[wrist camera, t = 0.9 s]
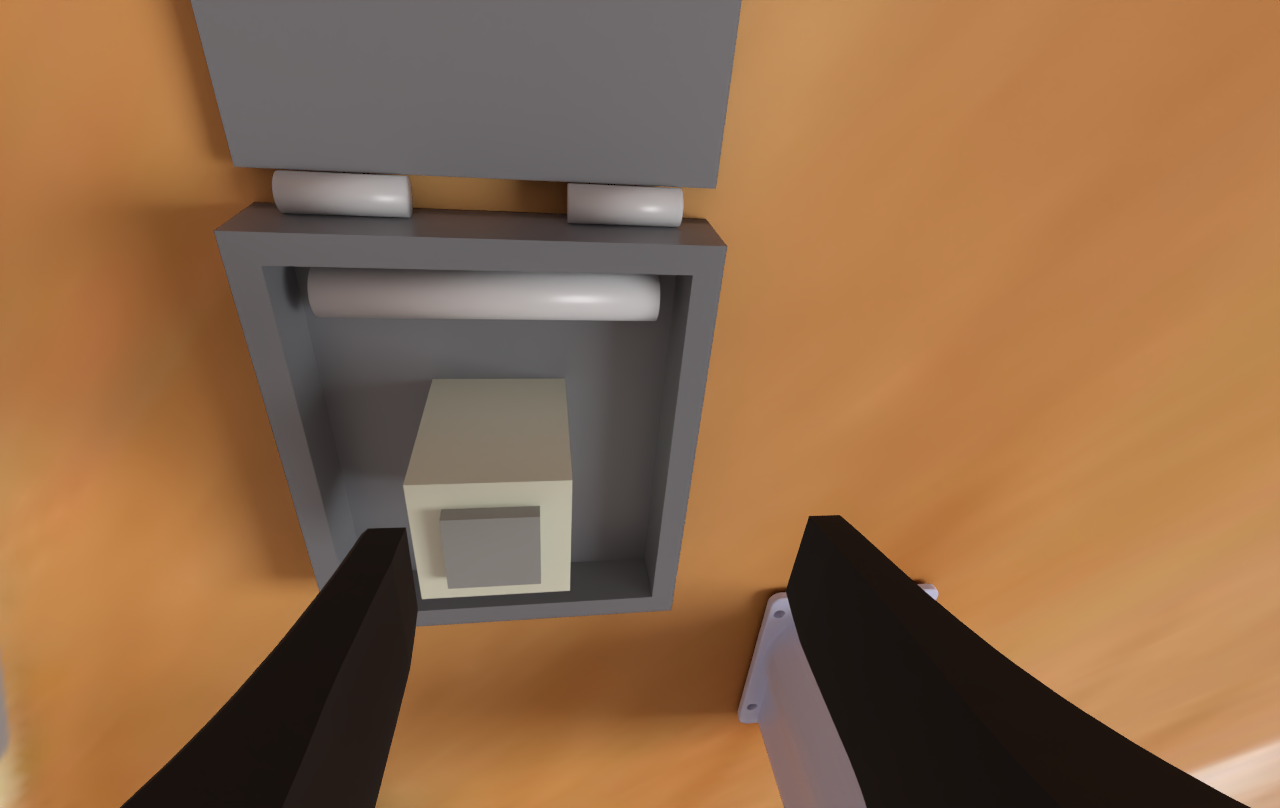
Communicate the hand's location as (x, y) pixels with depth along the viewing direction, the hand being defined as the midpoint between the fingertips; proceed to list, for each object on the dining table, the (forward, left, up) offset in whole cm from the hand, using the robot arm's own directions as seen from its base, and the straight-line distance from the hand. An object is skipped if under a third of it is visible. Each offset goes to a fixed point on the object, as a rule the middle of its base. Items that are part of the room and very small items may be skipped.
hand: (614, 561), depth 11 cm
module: (-3, +3, -9) cm, 10 cm away
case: (-3, +3, -10) cm, 11 cm away
